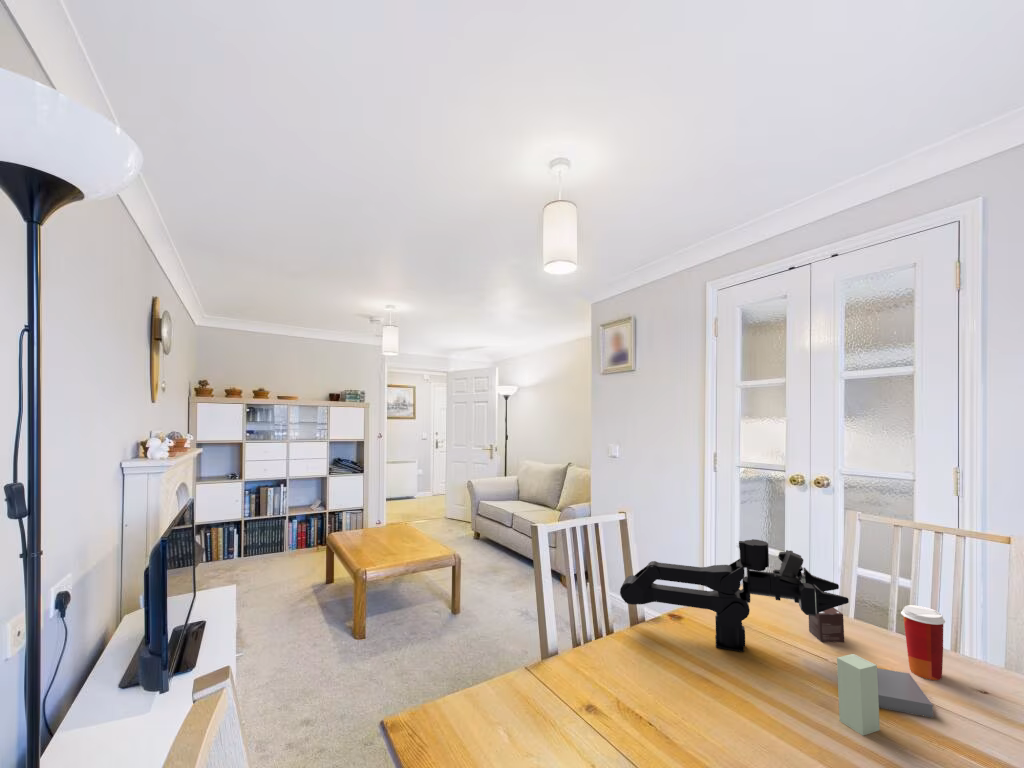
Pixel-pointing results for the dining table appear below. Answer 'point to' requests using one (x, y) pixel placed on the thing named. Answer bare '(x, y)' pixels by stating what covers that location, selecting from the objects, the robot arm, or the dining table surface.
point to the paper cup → (924, 641)
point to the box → (827, 626)
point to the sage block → (858, 694)
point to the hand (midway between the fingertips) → (843, 593)
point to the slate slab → (901, 693)
